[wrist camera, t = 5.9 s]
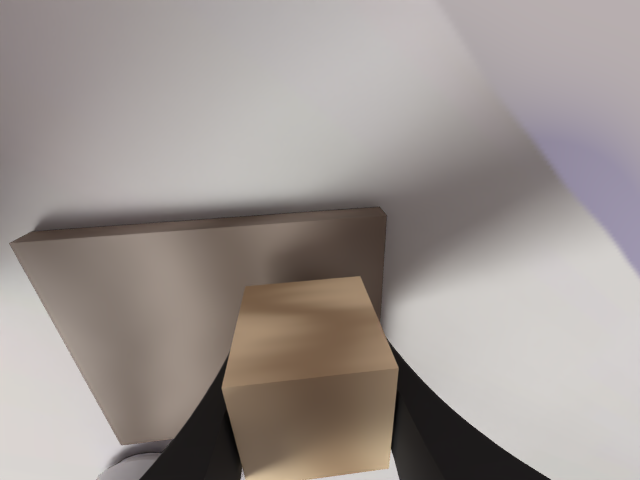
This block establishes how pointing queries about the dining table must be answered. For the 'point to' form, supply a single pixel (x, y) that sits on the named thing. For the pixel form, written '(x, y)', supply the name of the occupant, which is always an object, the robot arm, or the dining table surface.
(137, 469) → the can
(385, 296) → the dining table surface
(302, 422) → the oak block
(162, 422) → the serving board
